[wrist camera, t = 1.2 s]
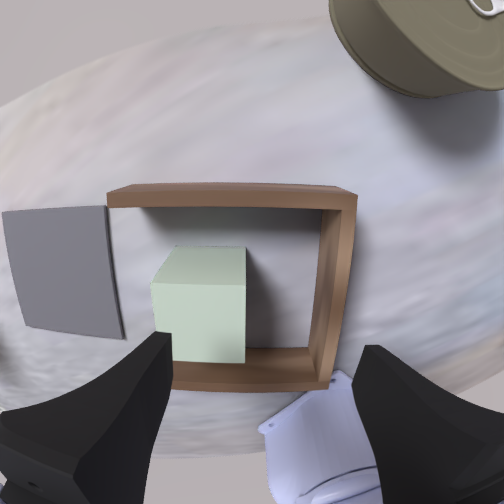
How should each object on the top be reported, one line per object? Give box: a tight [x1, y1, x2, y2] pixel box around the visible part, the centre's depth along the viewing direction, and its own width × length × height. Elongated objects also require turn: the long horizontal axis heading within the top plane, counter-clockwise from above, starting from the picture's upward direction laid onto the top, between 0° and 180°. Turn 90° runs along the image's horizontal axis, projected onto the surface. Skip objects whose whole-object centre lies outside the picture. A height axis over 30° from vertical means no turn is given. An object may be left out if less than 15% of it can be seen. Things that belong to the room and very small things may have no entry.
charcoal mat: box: [2, 205, 124, 339], centre depth 20 cm, size 10×10×1 cm
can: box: [329, 0, 504, 98], centre depth 12 cm, size 12×12×7 cm
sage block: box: [150, 246, 246, 363], centre depth 18 cm, size 4×4×6 cm
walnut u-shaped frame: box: [107, 183, 358, 393], centre depth 19 cm, size 13×13×4 cm
